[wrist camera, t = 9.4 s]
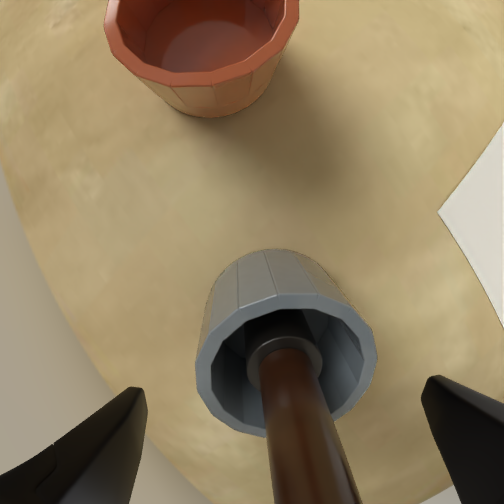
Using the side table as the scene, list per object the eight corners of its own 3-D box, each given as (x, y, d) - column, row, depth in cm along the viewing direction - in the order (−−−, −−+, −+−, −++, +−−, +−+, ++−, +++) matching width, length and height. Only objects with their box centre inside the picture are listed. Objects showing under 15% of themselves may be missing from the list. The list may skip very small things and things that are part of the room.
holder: (147, 119, 12) (93, 94, 7) (157, 13, 11) (122, -53, 5) (273, 120, 12) (299, 90, 7) (276, 12, 11) (297, -59, 6)
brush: (242, 341, 14) (258, 585, 4) (243, 289, 14) (266, 554, 3) (298, 341, 14) (373, 566, 4) (304, 289, 14) (419, 523, 3)
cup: (208, 365, 15) (201, 437, 10) (206, 247, 14) (191, 292, 9) (326, 363, 16) (356, 430, 11) (343, 249, 14) (392, 292, 9)
